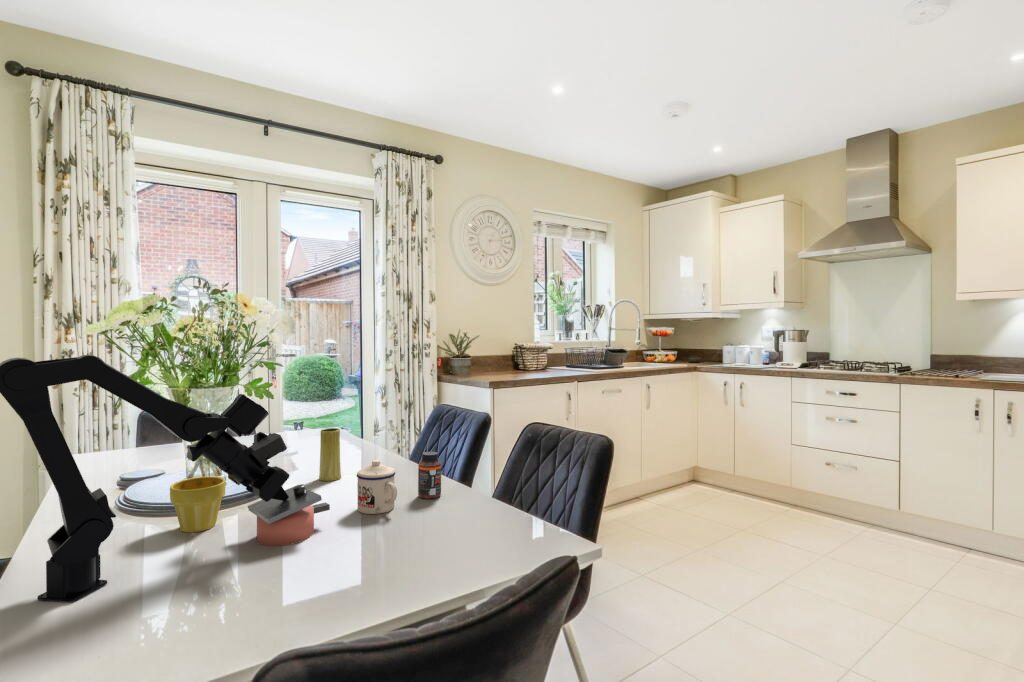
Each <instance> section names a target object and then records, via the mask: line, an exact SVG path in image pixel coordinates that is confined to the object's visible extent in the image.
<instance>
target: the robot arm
mask: <svg viewBox="0 0 1024 682" xmlns="http://www.w3.org/2000/svg"><path fill="white" fill-rule="evenodd" d="M84 380H86V381H88V382H90V383H92V384H94V385H96V386H97V387H98V388H101V389H103V390H104V391H106V392H109V393H110V394H112V395H113V396H116V397H118V398H120V399H121V400H124V401H125V402H127V403H129V404H130V405H132V406H134V407H136V408H138V409H140V410H141V411H143V412H145V413H147V414H148V415H149V416H151V417H152V418H153V419H154V420H155V421H156V422H157V423H159V424H160V425H161V426H162V427H163V428H165V430H166V431H169V433H170V434H172V435H173V436H174V437H177V438H179V439H181V440H183V441H184V442H188V443H193V442H196V443H194V444H188V445H186V449H187V452H186V458H187V460H189V461H192V462H193V463H195V462H196V461H197V460H198V459H199V458H200V457H201V456H203V457H204V458H205V459H206V460H208V461H210V462H211V463H212V464H214V465H215V466H216V467H217V468H218V469H219V470H220V471H222V472H224V473H226V474H227V478H228V480H230V481H231V482H232V483H234V484H236V485H237V486H240V485H242V486H243V487H245V490H246V491H248V492H250V493H251V494H253V495H254V496H257V497H258V498H259V499H261V500H264V501H266V502H268V501H269V500H270V499H276V500H281V501H286V500H287V499H288V498H289V496H288V495H287V493H286V492H285V490H286V489H284V487H283V485H284V484H285V483H286V482H287V481H288V479H290V473H288V472H287V471H286V470H284V468H281V467H278V466H277V465H275V466H270V465H269V464H270V463H271V462H270V461H269V460H270V459H272V458H273V457H276V456H277V455H278V454H280V453H283V452H286V450H287V449H288V446H287V444H286V442H285V441H284V438H283V437H282V435H281V434H279V433H276V432H269V433H268V434H266V433H264V432H262V431H259V432H257V433H255V434H254V435H253V442H252V445H250V446H247V445H245V444H242V443H241V442H240V441H238V440H237V439H236V438H235V437H234V436H232V434H234V435H235V436H236V437H238V438H241V437H242V436H244V437H249V436H250V435H251V434H252V433H253V432H254V431H255V430H256V429H257V428H258V426H260V425H261V423H262V422H263V421H264V420H265V419H266V418H267V417H268V416H269V414H270V413H269V412H268V410H266V409H265V407H263V406H262V405H261V404H260V403H257V402H255V401H254V400H252V399H251V398H249V396H246V394H243V393H239V394H238V395H237V396H236V397H235V398H234V400H233V401H232V402H231V403H230V404H229V406H227V407H226V408H225V409H224V410H223V412H221V414H218V413H216V412H212V413H211V412H209V413H207V412H204V411H202V410H200V409H199V410H198V409H196V408H193V407H190V406H188V405H185V404H182V403H180V402H177V401H174V400H172V399H169V398H167V397H164V395H161V394H160V393H158V392H155V391H154V390H153V389H152V388H149V387H148V386H146V385H144V384H142V383H140V382H138V381H137V380H135V379H133V378H132V377H130V376H129V375H127V374H125V373H123V372H121V371H120V370H118V369H117V368H114V367H113V366H112V365H109V364H107V363H106V362H105V361H103V359H102V358H100V357H98V356H96V355H92V354H83V355H80V356H75V357H68V358H67V357H66V358H58V359H57V358H56V359H47V360H38V361H33V360H31V359H28V358H25V357H13V358H12V357H11V358H8V359H6V360H3V361H1V362H0V394H1V396H2V397H3V399H5V402H7V403H8V404H9V406H10V407H11V408H12V409H13V410H14V412H15V413H16V414H17V416H18V417H19V418H20V419H21V420H22V422H23V425H24V426H25V427H26V430H27V432H28V434H29V437H30V438H31V440H32V442H33V444H34V446H35V448H36V451H37V453H38V455H39V457H40V459H41V462H42V464H43V466H44V468H45V469H46V472H47V474H48V475H49V478H50V480H51V482H52V484H53V486H54V488H55V490H56V492H57V495H58V501H59V507H60V513H61V517H62V522H63V525H61V526H60V527H59V528H58V529H57V530H56V531H55V532H54V533H53V534H51V536H50V537H49V538H47V541H46V542H47V544H48V548H49V550H50V554H51V556H50V558H49V559H47V560H46V561H45V569H46V570H45V571H46V572H45V574H46V576H45V577H46V578H45V579H46V580H45V581H46V582H45V583H46V584H45V586H46V589H45V590H46V592H43V593H40V594H38V596H37V600H39V601H51V602H52V601H53V602H64V603H65V602H66V603H72V602H75V601H77V600H79V599H81V598H83V597H85V596H86V595H88V594H91V593H93V592H94V591H96V590H98V589H99V588H102V587H103V586H106V585H107V584H108V580H107V579H101V554H100V553H99V552H100V550H99V549H100V546H101V544H102V543H103V542H105V541H106V540H107V539H108V538H109V536H110V535H111V533H112V531H114V522H113V518H117V515H116V513H115V512H114V510H113V509H112V508H111V507H110V505H109V500H108V495H107V494H106V493H105V492H104V491H103V489H102V488H100V487H98V488H97V489H96V490H94V491H91V490H90V489H89V487H88V486H87V484H86V481H85V479H84V477H83V475H82V473H81V471H80V469H79V467H78V465H77V463H76V460H75V458H74V456H73V454H72V452H71V450H70V447H69V445H68V443H67V441H66V439H65V436H64V435H63V433H62V430H61V428H60V425H59V424H58V422H57V419H56V417H55V415H54V412H53V411H52V403H51V398H50V392H49V391H50V389H49V387H51V386H58V385H64V384H68V383H73V382H74V383H75V382H79V381H84ZM226 430H228V431H229V432H231V433H232V434H230V433H229V432H228V431H226Z"/></svg>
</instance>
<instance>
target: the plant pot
mask: <svg viewBox="0 0 1024 682" xmlns="http://www.w3.org/2000/svg"><path fill="white" fill-rule="evenodd" d="M225 495H226V479H225V478H224V477H221V476H215V475H214V476H213V475H212V476H209V475H208V476H198V477H197V476H196V477H190V478H186V479H182V480H179V481H175V482H174V483H172V484H171V485H170V487H169V500H170V503H171V504H172V505H173V507H174V509H175V513H176V517H177V521H178V524H179V525H178V526H179V528H180V531H181V532H183V533H199V532H203V531H207V530H210V529H211V528H213V527H215V526H216V524H217V521H218V516H219V513H220V508H221V504H222V503H221V502H222V498H224V497H225Z"/></svg>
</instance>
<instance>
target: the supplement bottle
mask: <svg viewBox="0 0 1024 682" xmlns="http://www.w3.org/2000/svg"><path fill="white" fill-rule="evenodd" d="M421 455H422V456H421V458H422V460H420V461H419V462H418V471H417V472H418V473H417V476H418V478H417V479H418V480H417V481H418V483H417V493H418V494H417V495H418V497H419V498H421V499H425V500H427V499H428V500H430V499H437V498H439V497H440V496H441V495H442V461H440V460H439V458H438V457H439V456H438V455H439V453H438V452H436V451H425V452H422V453H421Z"/></svg>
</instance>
